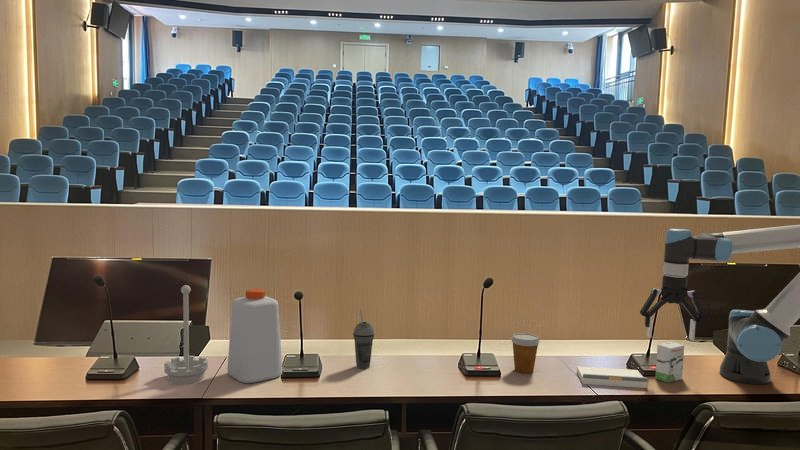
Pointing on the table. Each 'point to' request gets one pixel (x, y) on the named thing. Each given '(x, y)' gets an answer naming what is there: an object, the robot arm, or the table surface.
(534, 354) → the disposable coffee cup
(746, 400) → the table surface
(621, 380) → the white slab
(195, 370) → the flag stand
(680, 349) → the ink box
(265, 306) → the plastic bottle
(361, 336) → the beverage cup
